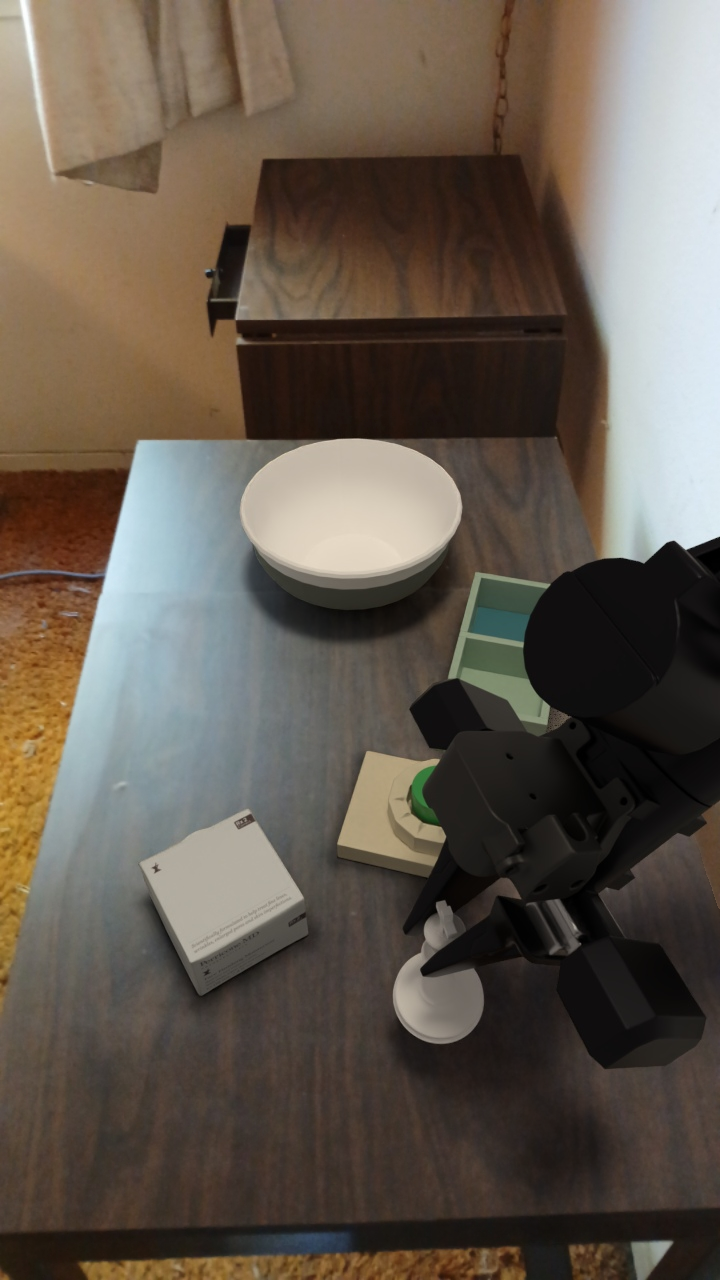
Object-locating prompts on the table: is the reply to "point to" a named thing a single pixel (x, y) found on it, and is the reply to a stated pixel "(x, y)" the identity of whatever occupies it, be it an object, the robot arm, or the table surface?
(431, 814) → the button
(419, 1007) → the chess piece
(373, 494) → the bowl
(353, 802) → the beige button base
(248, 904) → the small box
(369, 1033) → the table surface
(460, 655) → the green divided tray
